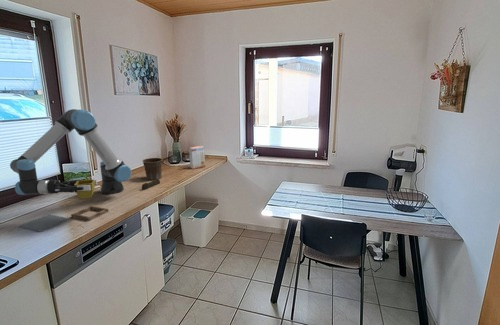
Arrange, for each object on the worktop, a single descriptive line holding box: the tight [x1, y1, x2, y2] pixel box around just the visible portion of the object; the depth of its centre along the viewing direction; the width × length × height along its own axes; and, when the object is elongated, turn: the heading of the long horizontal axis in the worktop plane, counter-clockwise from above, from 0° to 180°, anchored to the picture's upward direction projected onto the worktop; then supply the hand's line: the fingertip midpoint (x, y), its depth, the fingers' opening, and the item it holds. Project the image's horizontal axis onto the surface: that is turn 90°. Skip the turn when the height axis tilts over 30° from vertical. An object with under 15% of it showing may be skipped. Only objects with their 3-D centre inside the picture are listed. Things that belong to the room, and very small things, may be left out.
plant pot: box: [142, 157, 163, 181], centre depth 231 cm, size 16×16×16 cm
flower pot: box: [74, 179, 96, 199], centre depth 155 cm, size 9×9×9 cm
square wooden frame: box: [70, 205, 109, 222], centre depth 159 cm, size 13×13×2 cm
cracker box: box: [188, 145, 206, 170], centre depth 268 cm, size 14×6×21 cm, turn 130°
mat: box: [18, 214, 70, 233], centre depth 148 cm, size 16×16×1 cm
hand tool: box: [141, 179, 161, 191], centre depth 210 cm, size 19×4×5 cm, turn 159°
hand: (93, 184), depth 156 cm, fingers closed on flower pot, 10 cm apart
